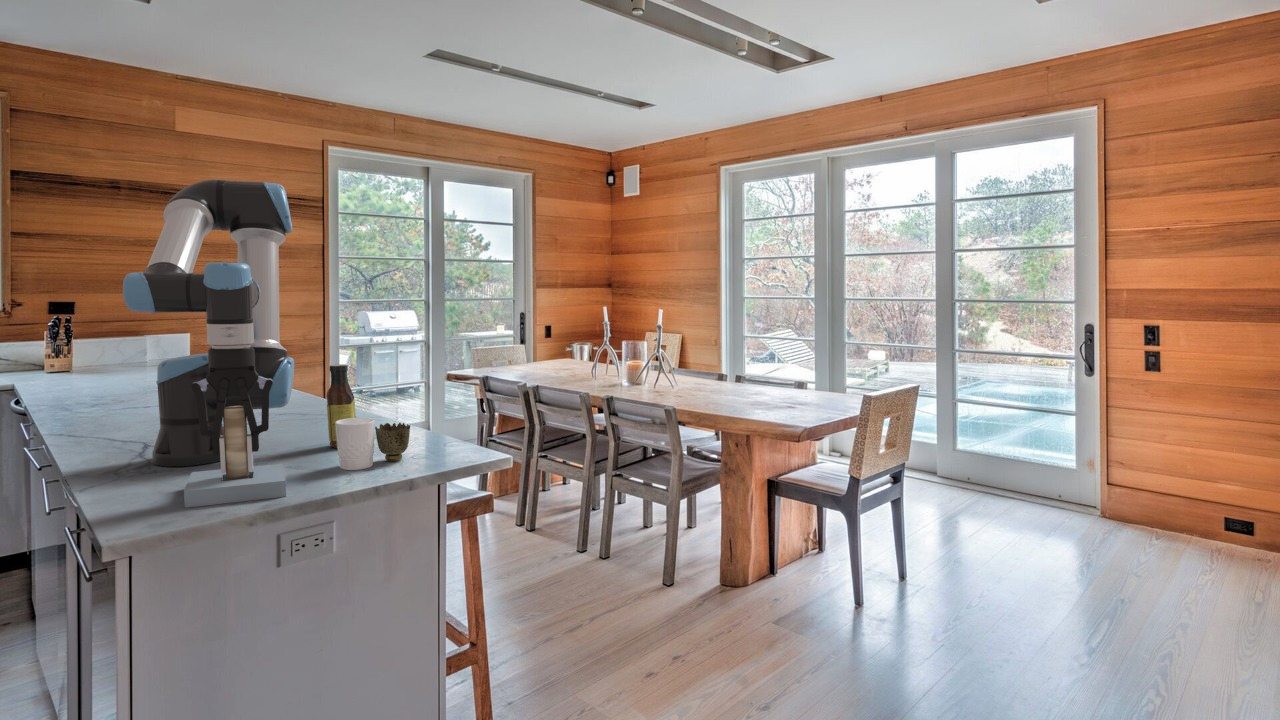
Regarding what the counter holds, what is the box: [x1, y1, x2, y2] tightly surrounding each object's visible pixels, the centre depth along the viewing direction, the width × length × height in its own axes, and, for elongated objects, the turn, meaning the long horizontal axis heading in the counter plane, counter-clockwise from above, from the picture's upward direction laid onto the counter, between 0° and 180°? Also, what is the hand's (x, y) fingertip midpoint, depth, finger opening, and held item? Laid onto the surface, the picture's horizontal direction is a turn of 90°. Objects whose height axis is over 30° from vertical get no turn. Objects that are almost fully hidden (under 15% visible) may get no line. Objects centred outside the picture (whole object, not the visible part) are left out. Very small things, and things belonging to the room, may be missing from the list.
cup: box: [374, 422, 411, 463], centre depth 161 cm, size 8×7×8 cm
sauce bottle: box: [326, 363, 356, 449], centre depth 174 cm, size 6×6×20 cm
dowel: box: [222, 406, 249, 481], centre depth 135 cm, size 4×4×16 cm
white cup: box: [335, 417, 376, 471], centre depth 156 cm, size 8×8×10 cm
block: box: [183, 463, 287, 509], centre depth 136 cm, size 14×16×3 cm
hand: (237, 469), depth 136 cm, fingers closed on dowel, 4 cm apart
